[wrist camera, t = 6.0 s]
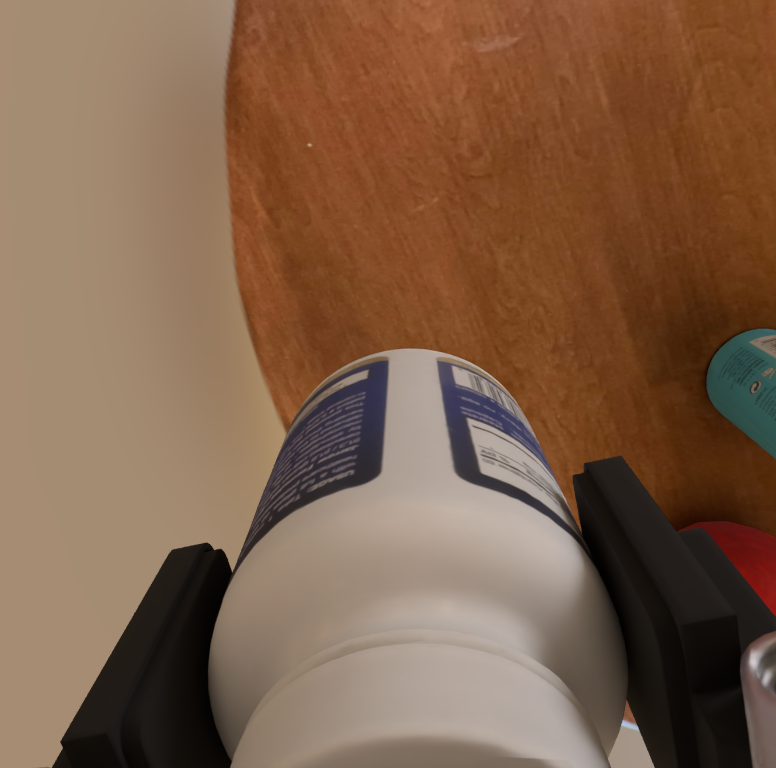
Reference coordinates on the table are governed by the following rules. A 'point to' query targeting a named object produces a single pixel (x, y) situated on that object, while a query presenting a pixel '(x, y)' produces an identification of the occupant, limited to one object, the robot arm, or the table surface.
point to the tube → (747, 385)
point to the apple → (747, 555)
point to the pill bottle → (415, 589)
